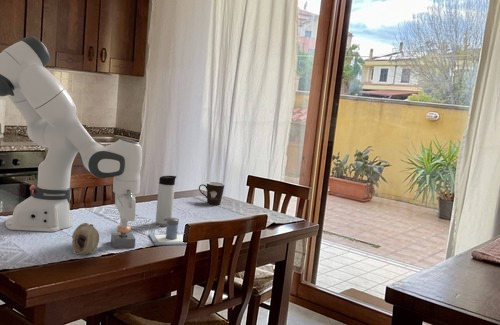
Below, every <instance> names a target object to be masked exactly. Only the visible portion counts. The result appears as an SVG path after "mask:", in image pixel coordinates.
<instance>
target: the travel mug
mask: <svg viewBox="0 0 500 325" xmlns="http://www.w3.org/2000/svg"><path fill="white" fill-rule="evenodd" d="M176 179H177V175H163V176H159V179H158V180H159V182H158V187H157V201H156V212H155V213H156V214H155V225H156V224H157V225H156V226H158V225H160V226H159V227H167V218H173V209H174V198H175V197H174V196H175V186H176Z"/></svg>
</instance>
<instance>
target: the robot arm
mask: <svg viewBox="0 0 500 325" xmlns="http://www.w3.org/2000/svg"><path fill="white" fill-rule="evenodd" d="M50 60H51V55H50V52H49V51H48V49H47V47H46V46H45V43H43V42H42V41H41V40H39V38H37V37H34V36H30V35H29V36H27V37H24V38H21V39H20V40H19V41H18V42H16V43H13V44H12V45H9V46H8V47H7V48H4V49H2V51H1V52H0V97H6V96H8V98H9V100H11V103H12V104H13V105H14V106H15V107H16V109H17V111H18V112H19V114H20V115H21V116H22V117H23V119H24V120H25V123H26V125H27V128H26V133H27V136H28V138H29V140H30V141H32V142H33V143H34V144H36V145H38V146H40V147H43V148H47V153H46V156H45V159H44V160H43V161H41V162H40V163H39V165H38V167H37V170H38V171H37V185H35V184H31V185H30V186H29V190H30V196H29V197H28V198H26V199H24V200H23V201H21V202H20V203H18V204H17V205H16V206H15V207H14V210H13V212H12V216H10V217H8V218H7V219H6V220H5V224H4V225H5V228H7V229H8V230H11V231H29V232H53V233H54V232H57V231H59V230H62V229H63V230H64V229H67V228H69V227H71V226H72V225H73V223H72V219H71V218H72V217H71V212H70V202H71V198H72V189H71V186H70V185H71V174H72V168H73V163H74V161H75V158H76V156H77V154H78V155H79V159H80V162H81V165H82V166H83V167H84V169H85V170H86V171H88V172H89V173H90V174H91V175H92V176H94V177H96V178H97V179H98V178H99V179H108V178H109V179H110V178H113V182H112V183H113V184H112V192H113V193H114V203H115V204H114V205H115V207H116V209H117V211H118V213H119V216H120V217H119V218H120V224H119V225H121V227H122V228H127V225H128V223H129V222H134V221H135V219H136V206H137V205H136V203H137V202H136V201H137V200H136V197H137V196H136V195H139V194H140V192H141V190H140V189H141V180H142V179H141V178H142V177H141V170H142V166H143V149H142V146H141V144H140V143H139V142H137V141H136V140H132V139H128V138H119V139H118V140H116V141H114V142H113V143H110V144H109V145H104V144H102V143H101V142H98V141H96V140H95V139H94V138H93V137H92V136H91V134H90V133H89V132H88V131H87V129H86V128H85V127H84V126H83V124H82V123H81V122H80V119H79V118H78V114H77V106H76V104H75V101H74V100H73V98H72V97H71V94H70V93H69V92H68V91H67V89H66V88H65V87H64V86H63V84H62V83H61V82H60V80H58V79H57V78H56V76H55V75H54V74H52V72H50V71H49V70H48V68H46V66H47V65H48V64H49V63H50Z"/></svg>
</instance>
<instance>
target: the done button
mask: <svg viewBox="0 0 500 325" xmlns="http://www.w3.org/2000/svg"><path fill="white" fill-rule="evenodd" d="M131 228H132V226H131V225H128V224H127V228H122V227H121V225H120V224H119V225H117V226H116V231H117V232H116V233H121V237H126V233H131Z"/></svg>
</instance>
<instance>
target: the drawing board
mask: <svg viewBox="0 0 500 325" xmlns="http://www.w3.org/2000/svg"><path fill="white" fill-rule="evenodd" d="M183 234H184V233H177V239H175V240H170V239H166V233H149V234H148V237H149V238H150V240H151V241H152V243H153V244H154V246H186V243H184V242H183Z"/></svg>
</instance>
